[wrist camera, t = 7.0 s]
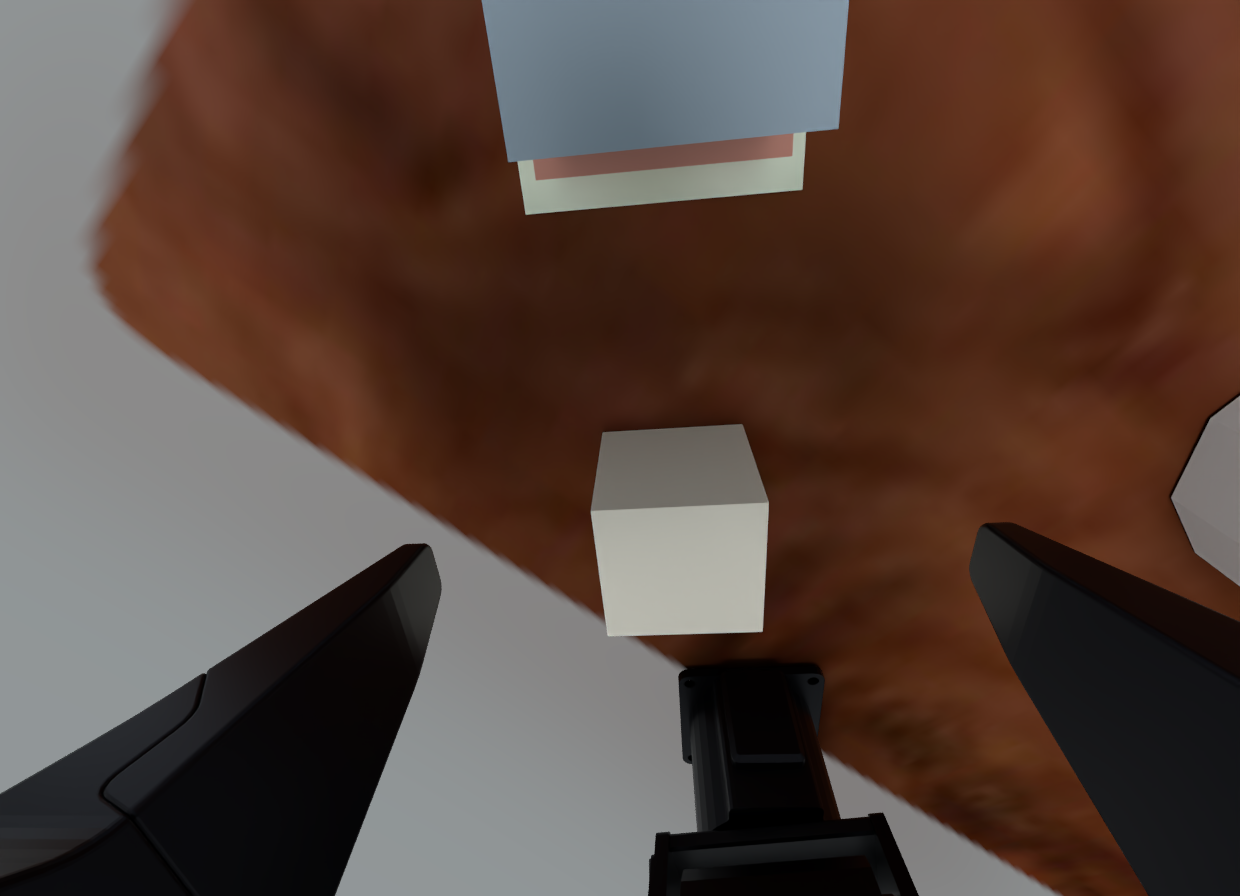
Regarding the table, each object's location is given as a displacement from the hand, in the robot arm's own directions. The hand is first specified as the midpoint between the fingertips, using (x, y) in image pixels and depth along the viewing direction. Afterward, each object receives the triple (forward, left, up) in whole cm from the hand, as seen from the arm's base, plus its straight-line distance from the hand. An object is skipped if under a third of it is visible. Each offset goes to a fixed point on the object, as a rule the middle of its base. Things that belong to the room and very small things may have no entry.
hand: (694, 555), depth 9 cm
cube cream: (-6, 0, -11) cm, 12 cm away
